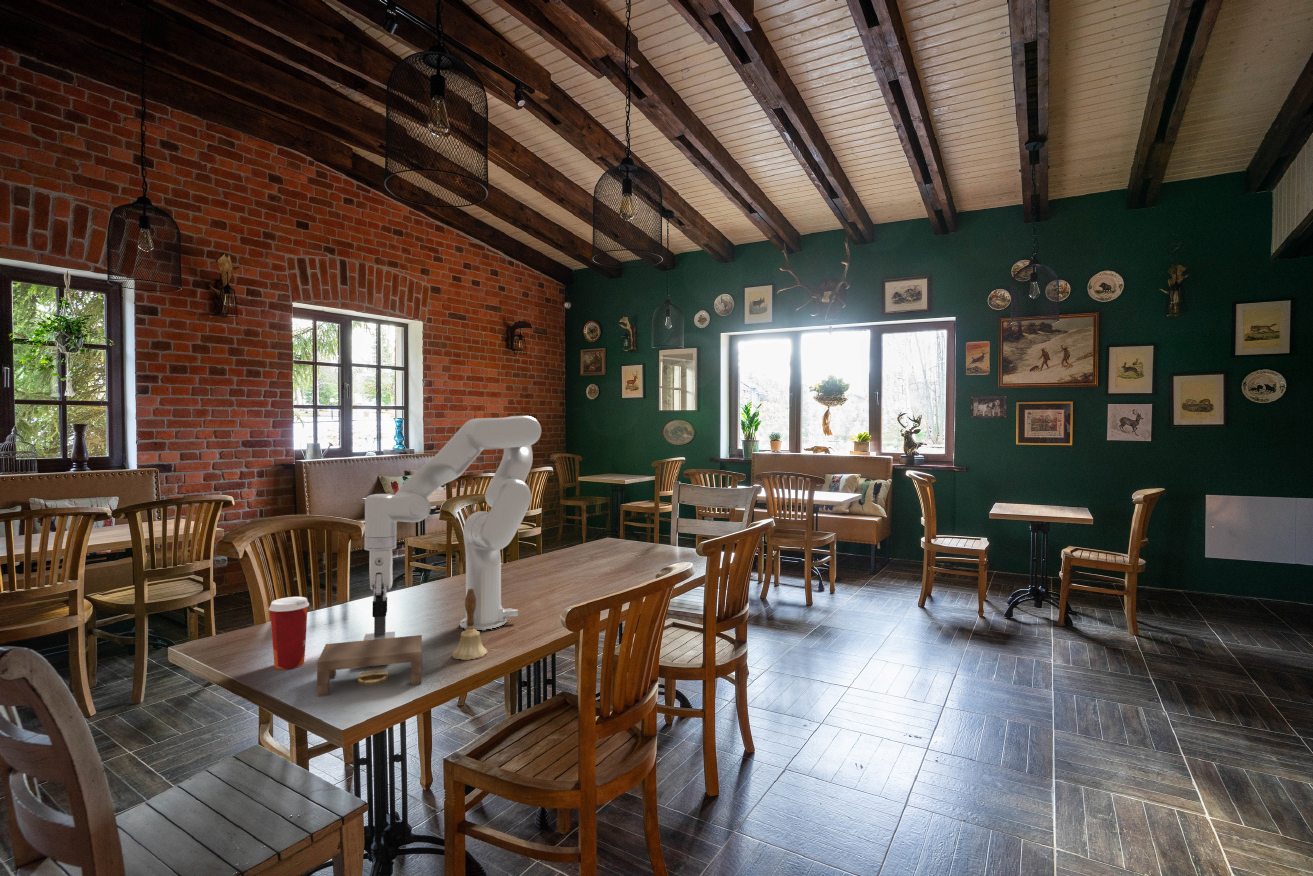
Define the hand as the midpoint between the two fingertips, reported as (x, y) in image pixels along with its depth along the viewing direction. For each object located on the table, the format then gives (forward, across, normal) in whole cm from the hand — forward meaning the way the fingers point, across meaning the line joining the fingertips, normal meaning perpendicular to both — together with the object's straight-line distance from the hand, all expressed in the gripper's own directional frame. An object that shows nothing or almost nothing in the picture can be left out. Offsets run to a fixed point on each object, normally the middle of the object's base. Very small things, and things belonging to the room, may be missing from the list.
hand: (379, 614), depth 167 cm
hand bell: (+7, -16, -21) cm, 28 cm away
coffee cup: (+8, -10, +19) cm, 23 cm away
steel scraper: (+6, -8, 0) cm, 10 cm away
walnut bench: (+8, -26, 0) cm, 27 cm away
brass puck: (+8, -26, 0) cm, 27 cm away
